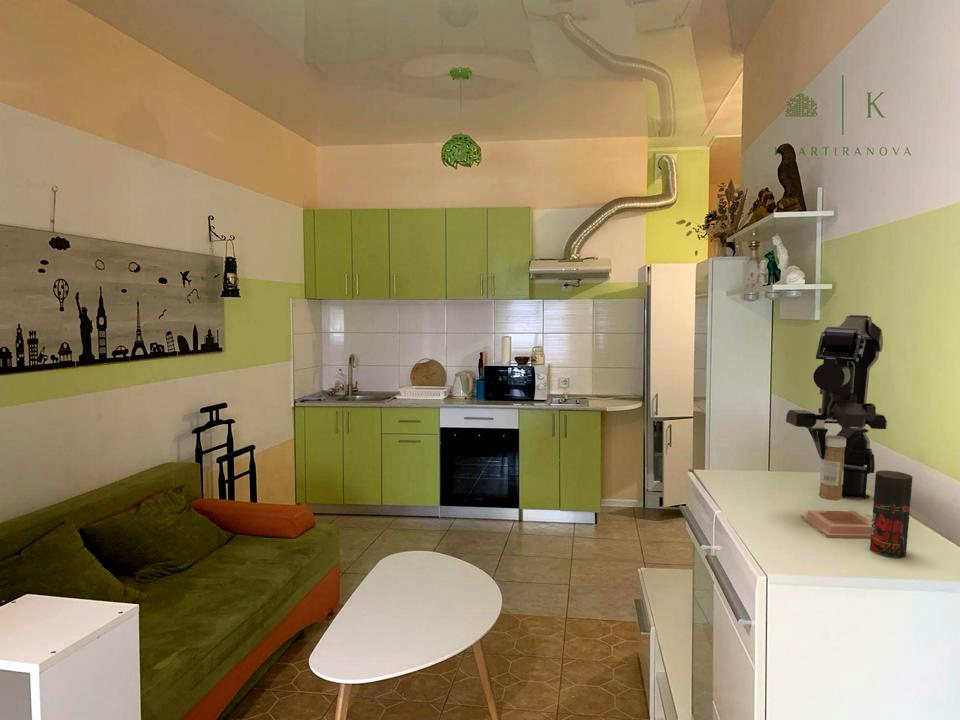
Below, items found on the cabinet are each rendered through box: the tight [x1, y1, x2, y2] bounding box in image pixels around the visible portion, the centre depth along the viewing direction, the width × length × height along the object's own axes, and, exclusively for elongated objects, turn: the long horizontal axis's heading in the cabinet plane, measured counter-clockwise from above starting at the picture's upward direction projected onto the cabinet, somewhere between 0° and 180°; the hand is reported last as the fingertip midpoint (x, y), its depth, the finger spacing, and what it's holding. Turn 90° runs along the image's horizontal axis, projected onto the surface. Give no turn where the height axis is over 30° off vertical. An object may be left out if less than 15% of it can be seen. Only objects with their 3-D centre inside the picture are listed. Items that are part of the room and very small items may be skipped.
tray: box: [799, 509, 872, 539], centre depth 143 cm, size 12×12×2 cm
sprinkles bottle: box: [818, 434, 846, 501], centre depth 147 cm, size 5×5×14 cm
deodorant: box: [869, 470, 914, 559], centre depth 130 cm, size 6×6×15 cm
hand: (832, 459), depth 147 cm, fingers closed on sprinkles bottle, 4 cm apart
